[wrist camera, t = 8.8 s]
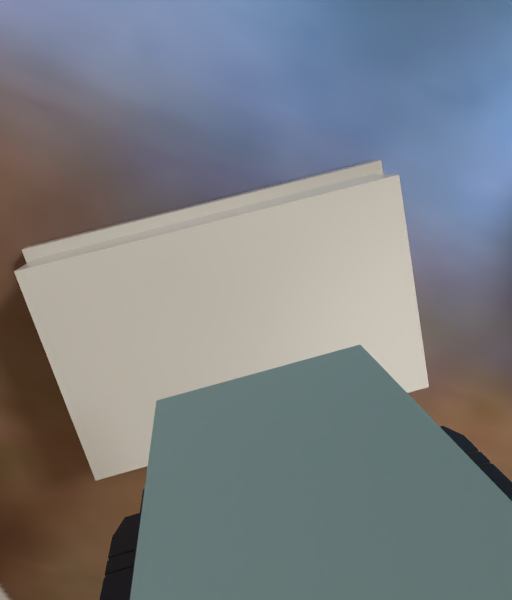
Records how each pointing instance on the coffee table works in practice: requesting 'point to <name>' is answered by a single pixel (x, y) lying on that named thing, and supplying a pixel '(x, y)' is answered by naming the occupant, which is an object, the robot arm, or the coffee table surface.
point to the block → (315, 494)
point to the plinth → (222, 299)
